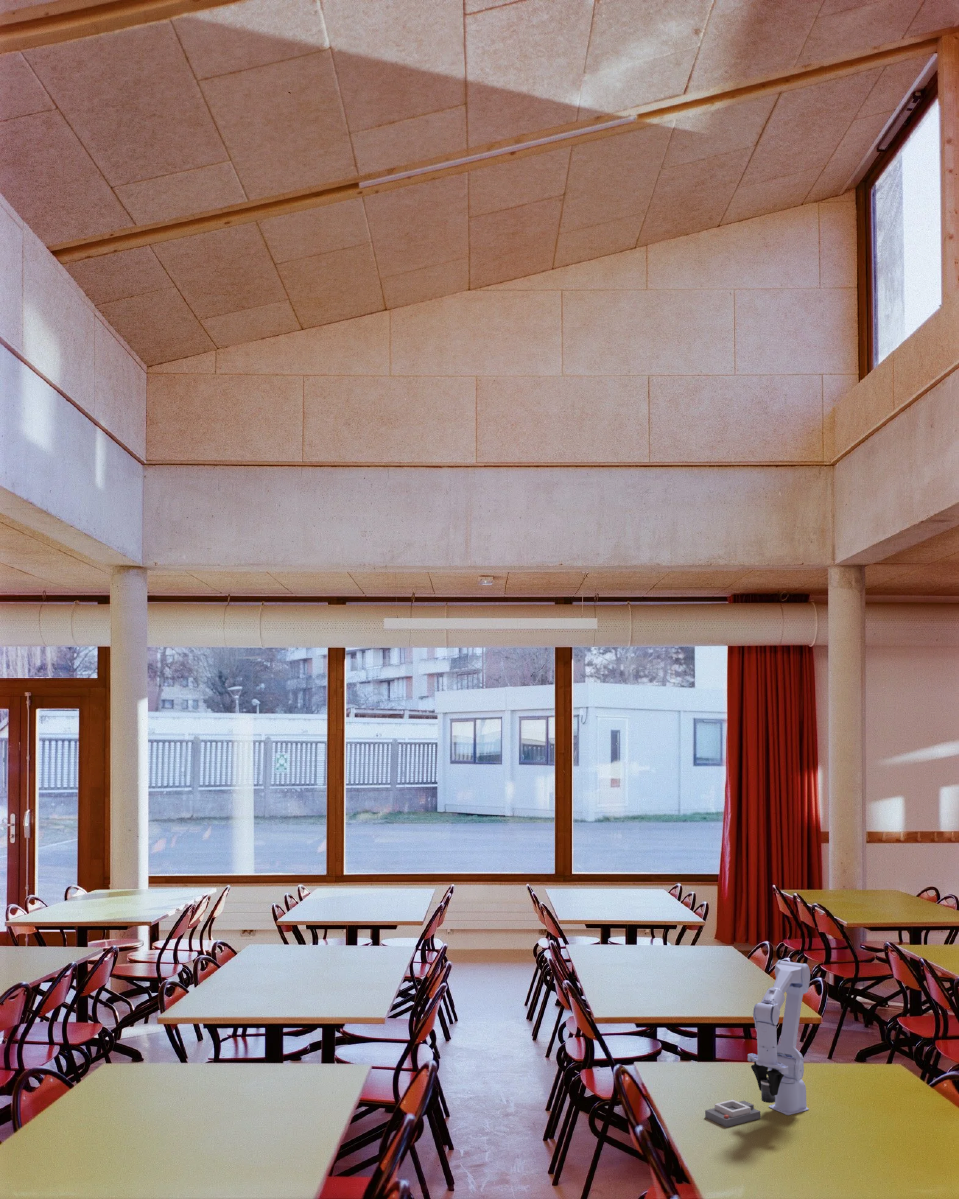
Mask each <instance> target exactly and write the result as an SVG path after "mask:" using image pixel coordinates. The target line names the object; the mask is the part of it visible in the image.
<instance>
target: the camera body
mask: <svg viewBox="0 0 959 1199" xmlns="http://www.w3.org/2000/svg"><path fill="white" fill-rule="evenodd" d="M704 1113H705V1114H704V1117H705V1118H706V1119H708V1120H711V1121H712V1122H715V1123H716V1124H719V1125H720V1126H723V1127H724V1128H729V1127H733V1126H737V1125H740V1124H745V1123H748V1122H753V1121H755V1120H759V1119H760V1120H761V1111H760V1110H758V1109H755V1105H754V1104H752V1103H751V1102H748V1101H746V1100H741V1101H737V1100H735V1099H729V1100H725V1101H722V1102H721V1101H720V1102H718V1103H714V1107H713V1108H710V1109H709V1108H708V1109H706V1110H705V1111H704Z"/></svg>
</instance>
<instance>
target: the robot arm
mask: <svg viewBox="0 0 959 1199" xmlns="http://www.w3.org/2000/svg"><path fill="white" fill-rule="evenodd" d="M774 975H775V981H774V983H773V986H771V987H769V988H767V990H766V992H765V994H764V996H763V997H762V999H761V1001H760V1002H758V1003H756V1004H755V1005H754V1007H753V1012H752V1016H753V1021H754V1027H755V1028H754V1029H756V1043H757V1044H756V1045H757V1048H756V1049H757V1054H756V1053H753V1052H752V1053H748V1054H747V1061H748V1062H752V1063H753V1064H751V1066H750V1068H751V1070H752V1072H753V1074H754V1076H755V1078H756V1082H757V1085H758V1089H759V1091H760V1092H761V1078H763V1077H768V1078H769V1082H770V1092H771V1095H772V1096H774V1095H775V1102H774V1104H773V1103H772V1104H770V1105H768V1108H769V1109H772V1110H774V1111H777V1112H779V1113H782V1114H783V1115H786V1116H791V1115H794V1114H795V1115H796V1114H798V1113H803V1112H805V1111H806V1112H807V1111H809V1109H810V1108H809V1107H807V1105H808V1104H807V1088H806V1084H805V1082H804V1081H803V1078H804V1073H805V1067H804V1066H805V1065H804V1064H805V1062H804V1061H805V1060H804V1059H805V1058H804V1056H803V1054H802V1053H801V1052H800V1051H799V1050H798V1049H797V1042H798V1033H799V1026H800V1017H801V1010H802V1003H803V998H804V997H803V996H804V995H805V994H807V993H808V992H809V988H810V981H811V980H810V979H811V971H810V967H809V964H807V963H800V962H793V961H786V960H782V959H778V960H777V962H776V963H775V967H774ZM785 993H786V995H785ZM784 1004H785V1005H784ZM783 1005H784V1011H783V1012H784V1013H783V1018H782V1019H783V1020H782V1027H781V1033H780V1041H779V1044H778V1042H777V1040H778V1039H777V1037H778V1036H777V1025H778V1023H779V1020H780V1015H781V1008H782V1006H783Z"/></svg>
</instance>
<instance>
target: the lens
mask: <svg viewBox="0 0 959 1199" xmlns="http://www.w3.org/2000/svg"><path fill="white" fill-rule="evenodd" d="M760 1092H761V1096H760V1097H761V1099H760V1100H761V1102H763V1103H768V1104H773V1103H774V1104H775V1095H774V1096H772V1095H771V1092H770V1082H769V1078H768V1076H767V1077H763V1078H761V1091H760Z"/></svg>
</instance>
